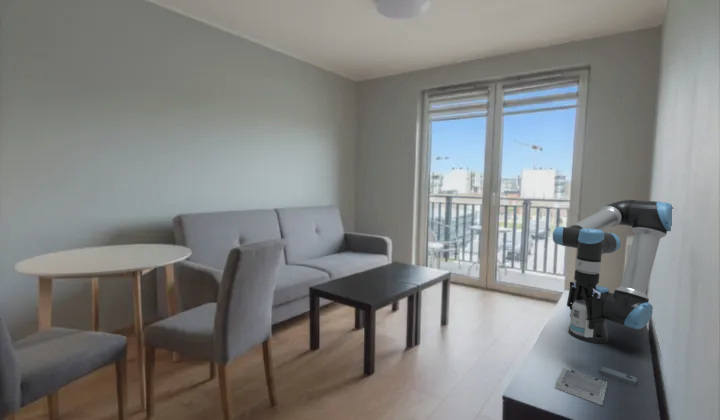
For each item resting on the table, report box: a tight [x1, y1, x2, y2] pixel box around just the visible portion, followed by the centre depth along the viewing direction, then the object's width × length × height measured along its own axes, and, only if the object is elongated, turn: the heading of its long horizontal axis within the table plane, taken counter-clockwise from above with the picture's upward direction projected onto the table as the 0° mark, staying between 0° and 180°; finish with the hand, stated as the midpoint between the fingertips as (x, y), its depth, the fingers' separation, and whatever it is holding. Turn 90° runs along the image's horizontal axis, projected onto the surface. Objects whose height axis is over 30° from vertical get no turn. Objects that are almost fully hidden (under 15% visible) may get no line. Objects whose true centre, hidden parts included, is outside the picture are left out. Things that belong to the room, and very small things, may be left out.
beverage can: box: [569, 300, 592, 336], centre depth 130 cm, size 7×7×12 cm
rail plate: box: [554, 367, 608, 406], centre depth 118 cm, size 13×13×2 cm
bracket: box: [599, 366, 638, 387], centre depth 126 cm, size 4×10×2 cm, turn 48°
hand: (580, 332), depth 130 cm, fingers closed on beverage can, 7 cm apart
